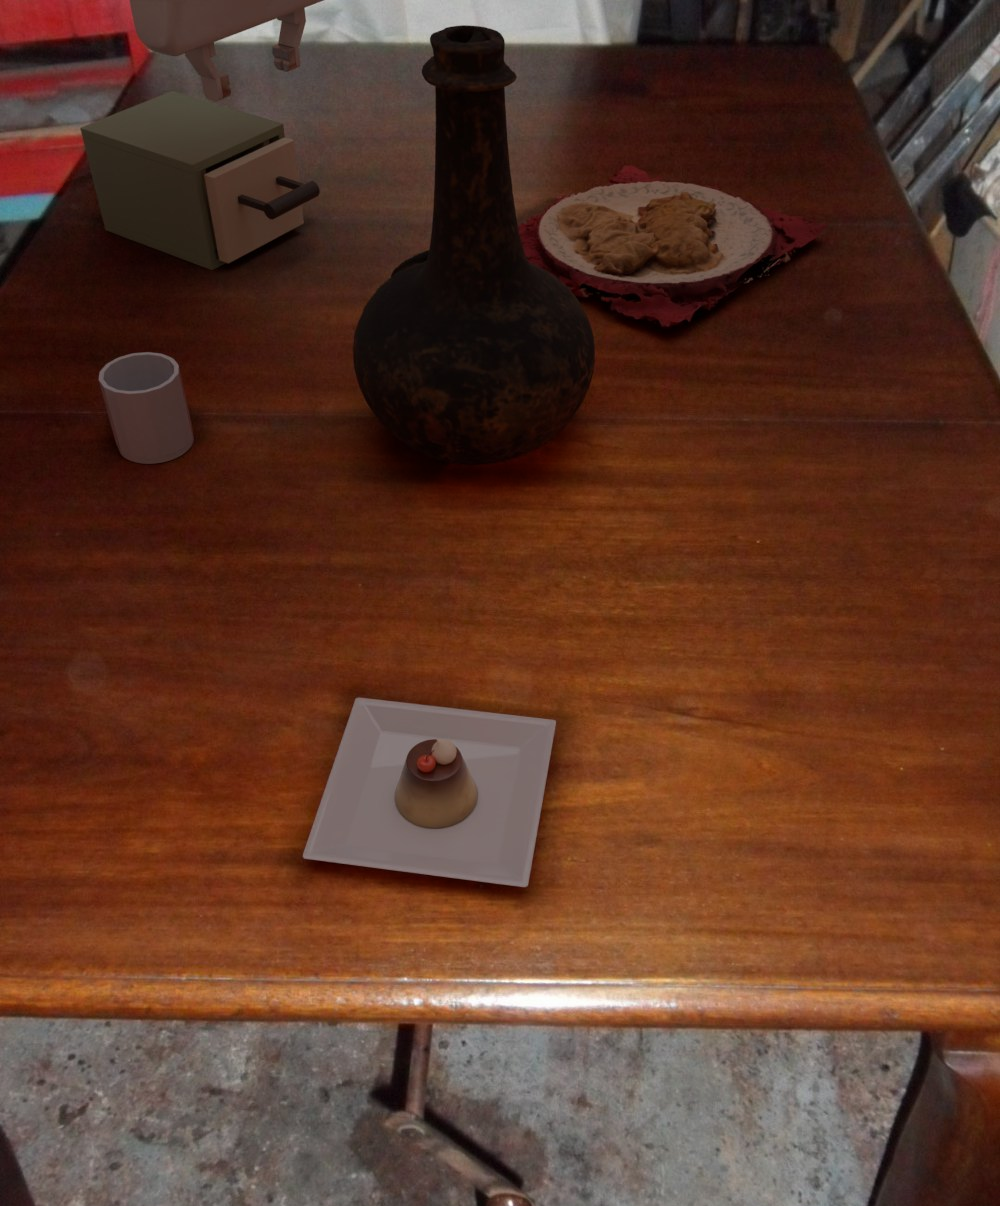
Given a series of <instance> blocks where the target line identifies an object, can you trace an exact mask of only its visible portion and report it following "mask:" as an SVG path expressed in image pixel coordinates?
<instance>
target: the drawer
mask: <svg viewBox="0 0 1000 1206" xmlns="http://www.w3.org/2000/svg"><path fill="white" fill-rule="evenodd" d="M296 154H297V153H296V146H295V140H294V139H292V138H288V137H286V136H285V137H284V138H282V139H280V140H278V141H275V142H273V143H271V144H269V140H267V141H264V142H262V143H260V144H258V145H256V146H254V147H251V148H249V149H247V150H245V151H243V152H241V153H238V154H236V155H234V156H232V157H230V158H228V159H226V160H223V161H221V162H219V163H217V164H215V165H213V166H210V167H208V168H206V169H204V170H202V171H201V176H202V181H203V187H204V192H205V198H206V203H207V209H208V215H209V220H210V226H211V231H212V237H213V242H214V248H215V250H216V249H217V250H218V256H219V260H220V261H223V262H225V264H230V263H233V262H235V261H236V260H238V259H240V258H242V257H244V256H245V255H248V254H249V253H251V252H253V251H255V250H257V249H258V248H261V247H262V246H264V245H266V244H268V243H270V242H272V241H274V240H275V239H278V238H279V237H281V236H282V235H284V234H287V233H289V232H291V231H292V230H294V229H296V228H298V227H300V226H301V225H304V224H305V221H304V213H303V205H304V204H306V203H308V202H310V201H312V200H314V199H315V198H317V197H319V195H320V193H321V191H320V187H319V185H318V184H317V182H316V181H314V180H309V181H307V182H305V183H303V182H300V181H299V172H298V164H297V163H298V162H297V155H296Z"/></svg>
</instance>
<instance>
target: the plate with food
mask: <svg viewBox="0 0 1000 1206" xmlns="http://www.w3.org/2000/svg"><path fill="white" fill-rule="evenodd" d="M659 173H660V174H661V171H660V172H659ZM608 179H609V180H608V181H609V182H608V183H605V184H600V185H594V186H591V188H587V190H586V191H584V192H576V193H574V192H572V193H569V194H568V195H562V197H560V198H558V197H556V198H554V203H553V204H551V205H548V206H546V207H544V212H543V213H540V214H536V215H531V216H530V219H527V220H526V222H525V223H524V222H521V223H520V224H519V225H518V229H519V234H520V238H521V241H522V246H523V249H524V252H525V255H526V258H527V260H528V262H530V263H532V264H534V265H537V266H539V267H541V268H543V269H544V270H546V271H548V272H549V273H551V274H553V275H554V276H555V277H557V278H558V279H559V280H560V281H561V282H562V283H564V284H565V285H566V286H567V287H568V288H569V289H570V290H571V292H572V293H573V294H574V295H575V297H576V298H577V297H578V298H583V299H586V298H589V297H590V296H593V295H594V293H596V294H597V295H600V294H601V293H600V292H598V291H603V292H606V294H603V295H602V296H600V301H603V302H606V303H610V302H611V304H610V310H611V312H617V313H618V314H620V315H621V314H622V315H623V316H624V317H626V318H633V319H635V320H643V319H647V321H648V322H652V321H654V322H653V324H656V321H658V323H659V325H660V327H661V328H669V327H671V326H675V325H679V324H680V323H681V322H683V321H684V320H685V321H687V322H688V323H689V322H691V320H692V318H693V315H694V313H695V312H696V311H698V310H699V309H700V308H702V309H703V310H707V311H711V309H712V308H716V305H718V302H719V300H721V299H723V298H724V296H725V297H727V296H728V295H729V294H731V293H733V292H734V291H735V290H736V289H738V288H739V287H740V286H741V285H742V284H744V285H745V284H747V285H748V284H749V283H750V281H751V282H753V281H754V278H753V277H751V276H750V277H749V276H747V277H745V278H743V279H742V280H739V279H740V278H741V276H742V275H743V274H744V273H746V272H747V271H748V270H749V269H750V268H751V267H752V266H753V265H755V264H757V263H759V262H760V261H761V263H760V265H761V266H762V267H761V269H762V271H763V272H762V273H760V274H758V275H757V277H758V278H760V279H761V278H762V276H763V274H764V276H765V277H766V276H768V277H769V276H770V275H771V274H770V273H769V271H770V269H772V268H774V267H776V266H777V265H779V266H781V264H788V262H789V261H791V257H793V254H795V253H796V250H798V251H799V249H801V248H802V247H804V246H806V245H807V244H809V243H810V242H812V241H813V240H815V239H816V238H817V237H818V236H820V234H821V233H822V232H824V230H825V228H826V225H827V224H826V223H825V221H823V222H821V223H820V224H819V223H818V222H817V221H816V219H814V218H813V219H809V220H805V216H803V215H794V216H790V215H788V214H785V213H782V212H780V211H779V210H778V209H776V210H775V211H773V210H771V207H770V206H767V207H765V208H764V209H762V208H761V206H759V205H758V202H753V201H752V200H750V199H747V198H742V197H741V196H740V195H731V194H728V193H727V192H725V190H724V191H721V189H720V188H718V186H717V185H714V186H713V185H708V184H704V185H702V184H701V183H697V184H695V183H692V182H688V181H685V182H682V181H668V182H666V181H664V180H663V179H662V178H661V177H660V176H657V177H655V178H654V177H653V178H650V176H649V174H648V172H646V171H645V170H641V169H639V168H638V167H636V166H635V165H624V166H623V167H622V168H621V170H620V171H619V172H618V173H617V172H613V177H612V176H610V177H609V178H608ZM765 273H769V274H765ZM738 280H739V281H738ZM581 285H586V286H589V288H594V289H596V290H598V291H594V293H593V292H592V291H590V290H587V287H586V286H581ZM609 293H610V294H609ZM630 294H631V295H632V294H633V295H635V294H636V295H637V297H639V299H638V298H635V299H631V300H626V298H623V295H630Z"/></svg>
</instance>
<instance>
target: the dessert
mask: <svg viewBox="0 0 1000 1206" xmlns="http://www.w3.org/2000/svg"><path fill="white" fill-rule="evenodd" d="M556 726H557V721H556V720H555V719H552V718H551V719H550V718H542V717H541V718H540V717H534V716H533V717H532V716H524V715H514V714H507V713H498V712H497V713H496V712H489V711H481V710H472V709H464V708H463V709H462V708H456V707H455V708H454V707H445V706H439V705H437V706H436V705H428V704H419V703H411V702H404V701H403V702H402V701H394V700H384V699H375V698H368V697H356V698H355V699H354V703H353V706H352V708H351V711H350V714H349V717H348V719H347V723H346V726H345V729H344V732H343V734H342V738H341V741H340V744H339V746H338V750H337V753H336V756H335V758H334V762H333V764H332V768H331V770H330V773H329V775H328V779H327V782H326V785H325V788H324V790H323V793H322V796H321V799H320V804H319V805H318V808H317V811H316V814H315V818H314V821H313V823H312V826H311V830H310V831H309V835H308V838H307V841H306V844H305V847H304V850H303V853H302V858H303V859H304V860H310V861H311V860H312V861H321V862H328V863H334V864H335V863H336V864H344V865H351V866H359V867H364V868H365V867H366V868H373V869H374V868H375V869H382V870H389V871H397V872H404V873H411V874H420V875H426V876H427V875H429V876H435V877H444V878H449V879H450V878H451V879H457V880H458V879H459V880H466V881H474V882H480V883H481V882H482V883H490V884H496V885H504V886H505V885H506V886H512V887H520V888H527V887H528V886H529V882H530V876H531V871H532V866H533V865H532V864H533V858H534V855H535V854H534V853H535V847H536V842H537V835H538V830H539V823H540V820H541V819H540V818H541V812H542V808H543V800H544V795H545V789H546V784H547V777H548V772H549V767H550V762H551V761H550V760H551V754H552V749H553V743H554V738H555V733H556Z"/></svg>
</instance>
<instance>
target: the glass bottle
mask: <svg viewBox="0 0 1000 1206" xmlns="http://www.w3.org/2000/svg"><path fill="white" fill-rule="evenodd" d="M429 43H430V45H431V48H432V56H431V57H430V58H429V59H428V60H427V61H425V63H424V64H423V66H422V69H421V75H422V77H423V79H424V81H425V82H426V83H428V84H429V85H431V86H433V87H434V88H435V89H434V90H435V93H434V94H435V104H434V105H435V147H434V187H433V208H432V209H433V210H432V223H431V233H430V240H429V241H430V242H429V249H428V250H424V251H423V252H420V253H417V254H414V255H413V256H412V257H409V258H407V259H405V260H404V261H402V262H401V263H400V264H398V266H397V267H394V269H393V270H392V272H391V273H390V277H389V278H388V279H386V280H385V281H384V282H383V283H382V284H381V285H380V286H379V287H378V288H377V289H376V291H375V292H374V293H373V295H372V296H371V297H370V299H368V301H367V302H366V304H365V305H364V307H363V309H362V310H363V311H362V313H361V315H360V317H359V319H358V322H357V325H356V327H355V330H354V333H353V345H352V358H353V367H354V374H355V375H356V381H357V383H358V386H359V387H358V388H359V389H360V391H361V394H362V396H363V398H364V400H365V401H366V403H367V406H368V407H369V409H370V410H371V411H372V413H373V414H374V416H375V417H376V418H377V420H378V421H379V422H380V423H381V425H383V426H384V427H385V429H386V430H388V431H389V433H391V434H392V435H393V436H394V437H395V438H397V440H399V441H400V442H402V443H403V444H404V445H405V446H406V447H409V448H410V449H412V450H414V451H415V452H417V453H420V454H421V455H424V456H426V457H429V458H432V459H433V460H437V461H441V462H444V463H449V464H455V465H461V466H462V465H463V466H483V465H492V464H497V463H504V462H507V461H512V460H515V459H516V458H520V457H523V456H525V455H527V454H529V453H531V452H533V451H535V450H538V449H539V448H541V447H542V446H544V445H546V444H547V443H548V442H549V441H551V440H553V438H555V437H556V436H557V435H558V434H559V433H560V432H561V431H563V429H565V427H566V426H567V425H568V424H569V423H570V422H571V420H572V419H573V418H574V416H575V415H576V413H577V412H578V411H579V409H580V408H581V405H582V404H583V402H584V400H585V398H586V396H587V393H588V391H589V389H590V387H591V384H592V379H593V375H594V371H595V370H594V369H595V363H596V347H595V346H596V345H595V338H594V333H593V329H592V326H591V323H590V320H589V317H588V314H587V313H586V311H585V309H584V307H583V305H582V304H581V302H580V301H579V299H578V298H577V296H576V297H575V295H574V294H573V293H572V292H571V290H570V289H569V288H568V287H567V286H566V285H565V284H564V283H562V282H561V281H560V280H559V279H558V278H557V277H555V276H554V275H553V274H551V273H549V272H548V271H546V270H544V269H543V268H541V267H539V266H537V265H534V264H532V263H530V262H528V260H527V258H526V255H525V252H524V249H523V246H522V241H521V238H520V234H519V229H518V224H519V223H518V218H517V212H516V204H515V200H514V192H513V182H512V175H511V174H512V173H511V165H510V154H509V152H510V151H509V142H508V127H507V110H506V90H505V87H506V88H507V87H508V86H510V85H512V84H513V83H514V82H515V81H516V80H517V79H518V76H517V74H516V72H514V71H513V70H512V68H510V66H509V65H508V64H507V63H506V62H505V48H506V47H505V46H506V42H505V38H504V36H503V35H502V33H501V32H499V31H498V30H496V29H493V28H489V27H486V26H479V25H466V24H465V25H453V26H448V27H447V26H446V27H445V28H443V29H441V30H438V31H435V32H433V33H431V35H430V37H429Z"/></svg>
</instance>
